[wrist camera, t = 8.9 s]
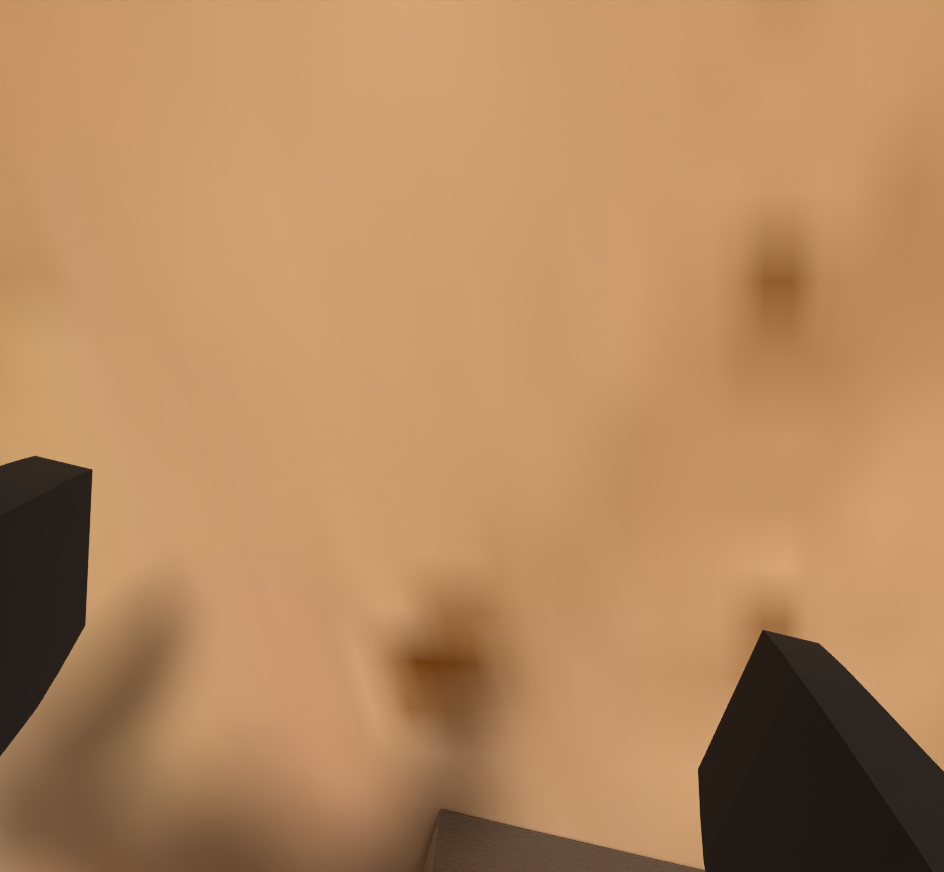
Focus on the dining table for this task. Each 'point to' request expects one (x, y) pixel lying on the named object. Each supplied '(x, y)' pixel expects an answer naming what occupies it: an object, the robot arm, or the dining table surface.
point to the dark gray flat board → (523, 851)
